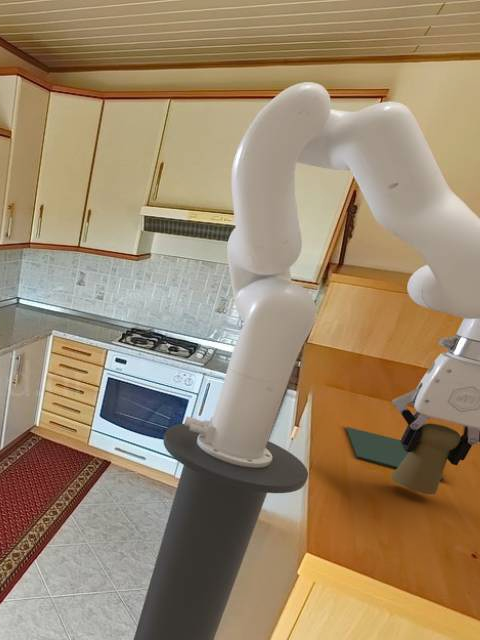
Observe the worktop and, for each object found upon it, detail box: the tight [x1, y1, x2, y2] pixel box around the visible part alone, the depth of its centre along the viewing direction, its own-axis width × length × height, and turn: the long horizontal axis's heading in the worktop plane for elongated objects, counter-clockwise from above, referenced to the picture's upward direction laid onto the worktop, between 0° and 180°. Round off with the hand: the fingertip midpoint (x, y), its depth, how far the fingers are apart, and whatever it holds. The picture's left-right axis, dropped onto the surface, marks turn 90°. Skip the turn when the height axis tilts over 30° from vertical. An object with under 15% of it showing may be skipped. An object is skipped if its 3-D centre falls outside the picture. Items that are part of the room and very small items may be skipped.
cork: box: [390, 422, 461, 495], centre depth 82 cm, size 6×6×11 cm
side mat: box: [345, 426, 444, 482], centre depth 101 cm, size 13×18×1 cm
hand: (428, 454), depth 82 cm, fingers closed on cork, 5 cm apart
